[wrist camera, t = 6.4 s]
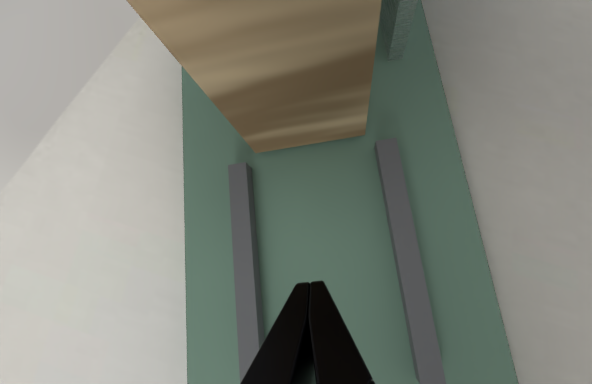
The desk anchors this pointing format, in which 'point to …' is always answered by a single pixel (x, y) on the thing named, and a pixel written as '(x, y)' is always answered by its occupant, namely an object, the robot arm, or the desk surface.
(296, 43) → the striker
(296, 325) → the robot arm
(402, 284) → the board
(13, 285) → the desk surface
